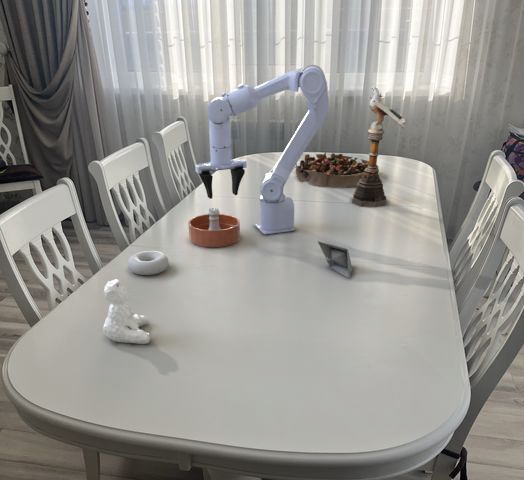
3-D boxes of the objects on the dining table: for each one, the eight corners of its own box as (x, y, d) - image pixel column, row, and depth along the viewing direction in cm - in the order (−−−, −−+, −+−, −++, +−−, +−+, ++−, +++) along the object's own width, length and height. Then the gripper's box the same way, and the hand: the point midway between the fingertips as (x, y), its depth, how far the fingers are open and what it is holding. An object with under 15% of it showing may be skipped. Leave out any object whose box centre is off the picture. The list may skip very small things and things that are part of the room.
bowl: (231, 228, 161) (230, 211, 158) (246, 244, 150) (246, 227, 147) (184, 233, 157) (183, 216, 154) (196, 251, 146) (195, 233, 143)
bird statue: (400, 196, 187) (415, 83, 168) (402, 208, 176) (419, 88, 157) (351, 194, 189) (361, 82, 170) (350, 205, 178) (360, 87, 159)
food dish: (295, 164, 228) (296, 145, 224) (375, 168, 224) (378, 148, 220) (286, 185, 198) (287, 162, 194) (379, 189, 194) (382, 167, 190)
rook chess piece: (207, 234, 155) (205, 206, 150) (222, 234, 155) (221, 206, 151) (207, 240, 151) (205, 212, 147) (223, 240, 151) (222, 211, 147)
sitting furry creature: (151, 344, 106) (144, 288, 99) (105, 351, 104) (95, 294, 97) (146, 321, 113) (138, 268, 107) (103, 327, 111) (93, 273, 105)
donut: (157, 280, 131) (176, 263, 139) (155, 267, 129) (175, 251, 137) (120, 274, 133) (141, 258, 141) (118, 261, 132) (139, 246, 139)
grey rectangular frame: (368, 265, 135) (353, 268, 127) (351, 283, 138) (335, 287, 130) (336, 230, 137) (320, 232, 130) (320, 249, 141) (303, 251, 133)
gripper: (200, 151, 143) (203, 203, 150) (251, 146, 148) (251, 196, 155) (191, 146, 148) (194, 196, 156) (240, 141, 154) (241, 190, 161)
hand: (222, 196), depth 156 cm, fingers open, 7 cm apart
